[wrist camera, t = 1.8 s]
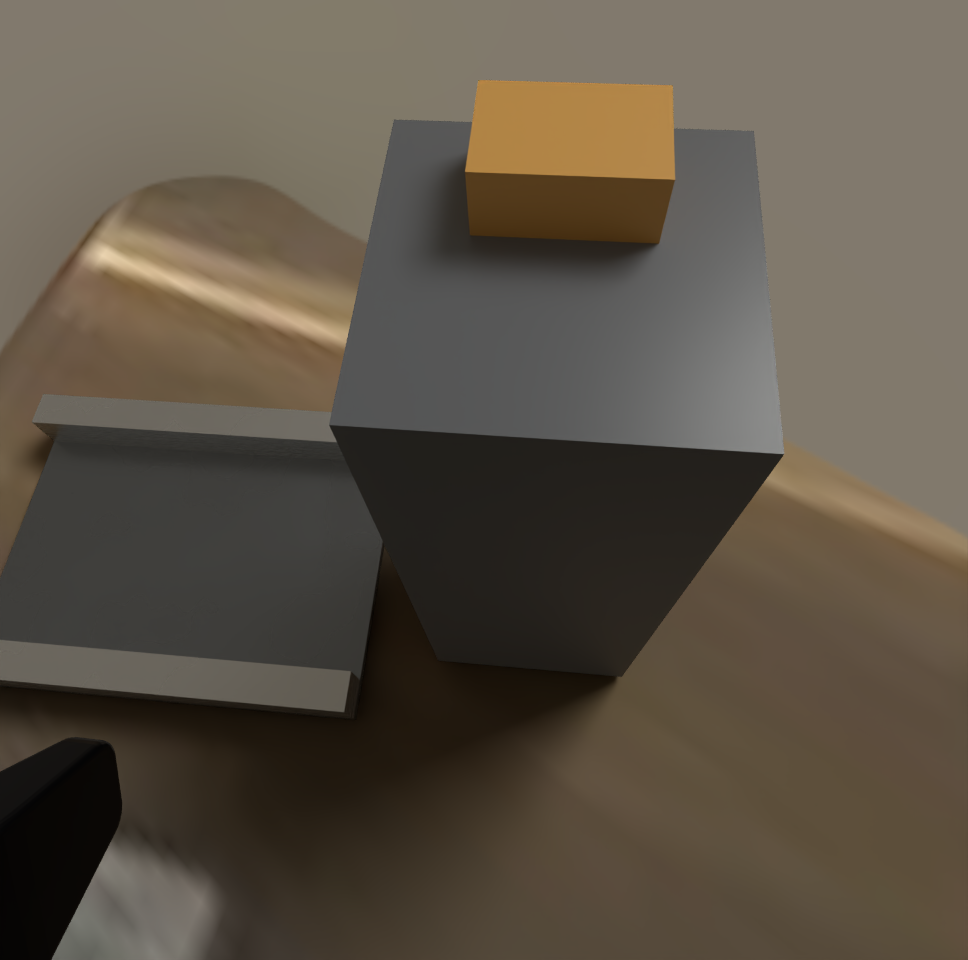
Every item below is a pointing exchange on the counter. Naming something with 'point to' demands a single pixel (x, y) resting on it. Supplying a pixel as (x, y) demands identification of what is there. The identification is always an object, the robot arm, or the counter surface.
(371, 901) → the counter surface
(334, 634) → the rail seat
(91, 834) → the robot arm
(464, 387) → the block
